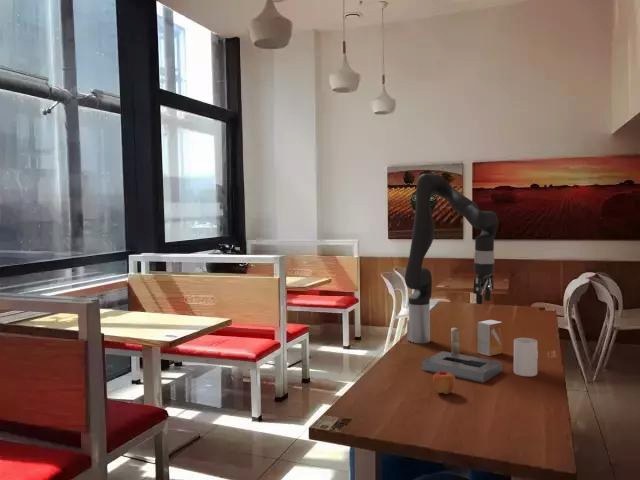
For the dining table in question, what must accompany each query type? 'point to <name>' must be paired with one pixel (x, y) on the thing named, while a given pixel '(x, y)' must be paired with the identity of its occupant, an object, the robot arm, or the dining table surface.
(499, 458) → the dining table surface
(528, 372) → the mug
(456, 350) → the stud
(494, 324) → the small box
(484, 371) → the keyhole plate
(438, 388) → the apple
